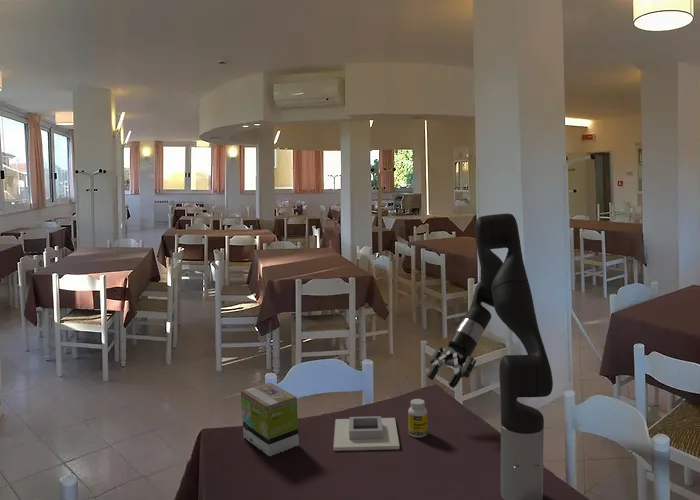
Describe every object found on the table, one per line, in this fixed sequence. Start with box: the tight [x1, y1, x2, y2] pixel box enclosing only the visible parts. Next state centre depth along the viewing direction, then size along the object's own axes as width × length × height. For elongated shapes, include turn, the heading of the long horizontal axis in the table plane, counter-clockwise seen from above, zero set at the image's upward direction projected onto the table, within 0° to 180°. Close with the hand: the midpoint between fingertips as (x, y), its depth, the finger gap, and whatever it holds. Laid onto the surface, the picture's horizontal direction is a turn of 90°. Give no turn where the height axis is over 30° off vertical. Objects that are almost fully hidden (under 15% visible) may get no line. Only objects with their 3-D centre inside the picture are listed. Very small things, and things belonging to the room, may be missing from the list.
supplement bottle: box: [407, 398, 428, 438], centre depth 160 cm, size 5×5×10 cm
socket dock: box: [333, 415, 401, 452], centre depth 161 cm, size 18×18×4 cm
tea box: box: [240, 382, 300, 457], centre depth 158 cm, size 15×10×15 cm, turn 39°
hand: (440, 382), depth 165 cm, fingers open, 8 cm apart
